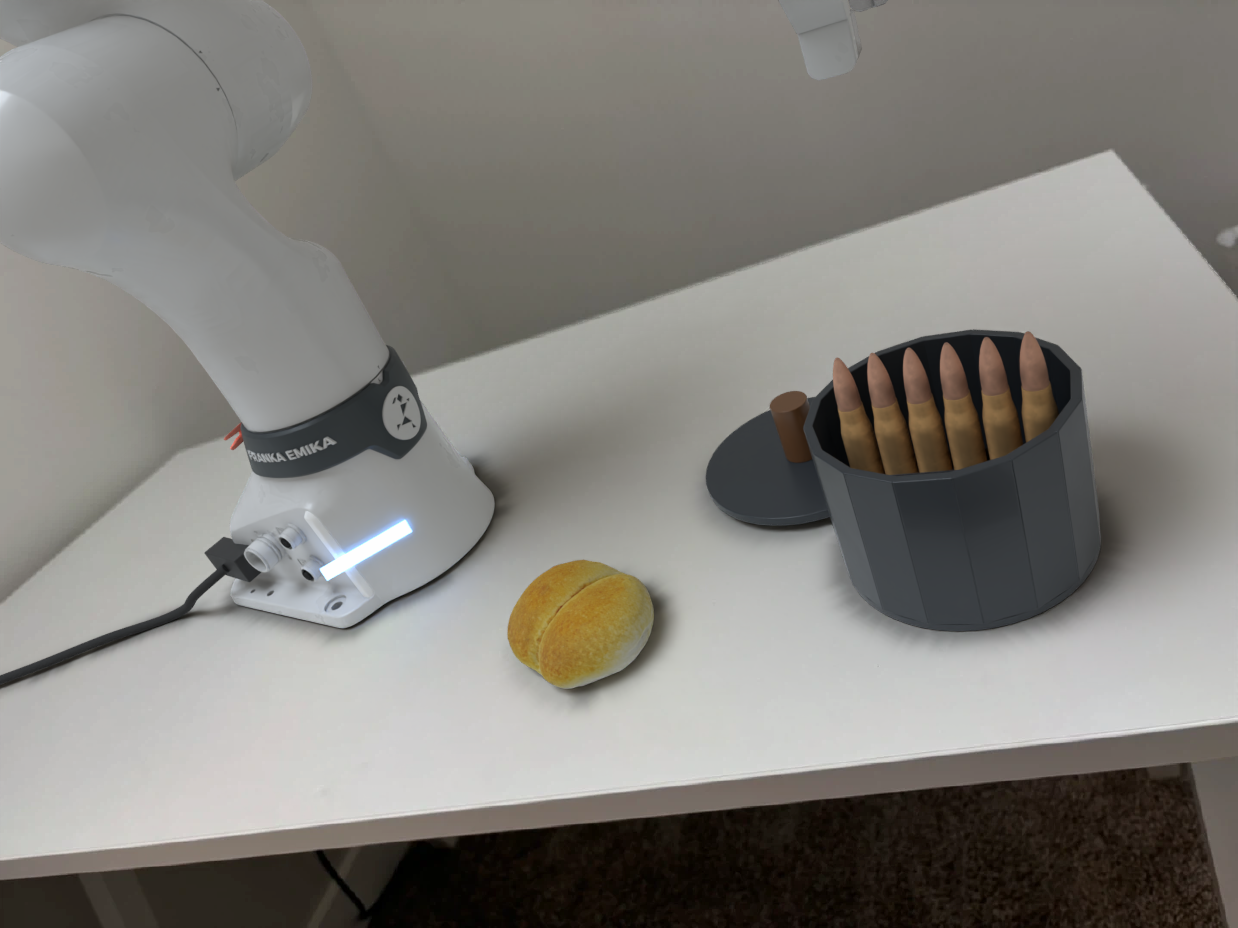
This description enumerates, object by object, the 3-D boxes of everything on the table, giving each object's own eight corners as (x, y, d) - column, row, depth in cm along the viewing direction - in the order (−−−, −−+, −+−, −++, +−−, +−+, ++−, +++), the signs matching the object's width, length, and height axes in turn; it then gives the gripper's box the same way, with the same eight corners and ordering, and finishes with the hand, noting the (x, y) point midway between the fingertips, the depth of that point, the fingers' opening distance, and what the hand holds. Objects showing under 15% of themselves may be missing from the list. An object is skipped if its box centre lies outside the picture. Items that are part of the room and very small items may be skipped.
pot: (828, 631, 50) (781, 490, 45) (865, 479, 59) (829, 349, 55) (1105, 632, 44) (1084, 468, 39) (1097, 461, 53) (1080, 313, 48)
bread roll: (586, 715, 51) (558, 664, 49) (500, 654, 58) (472, 607, 56) (690, 617, 55) (667, 566, 53) (597, 570, 61) (574, 523, 59)
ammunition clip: (866, 551, 53) (814, 370, 47) (871, 529, 55) (821, 350, 48) (1078, 542, 48) (1050, 339, 42) (1078, 519, 49) (1050, 318, 43)
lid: (687, 539, 61) (660, 475, 58) (736, 419, 71) (716, 360, 68) (900, 527, 55) (881, 454, 52) (922, 397, 64) (907, 331, 62)
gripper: (748, -347, 40) (826, -6, 47) (565, -356, 25) (719, 145, 32) (900, -426, 37) (959, -49, 44) (795, -488, 22) (909, 95, 29)
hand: (857, 34), depth 38 cm, fingers open, 8 cm apart
